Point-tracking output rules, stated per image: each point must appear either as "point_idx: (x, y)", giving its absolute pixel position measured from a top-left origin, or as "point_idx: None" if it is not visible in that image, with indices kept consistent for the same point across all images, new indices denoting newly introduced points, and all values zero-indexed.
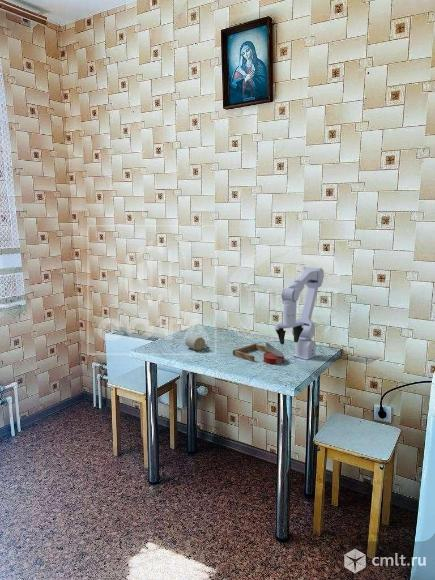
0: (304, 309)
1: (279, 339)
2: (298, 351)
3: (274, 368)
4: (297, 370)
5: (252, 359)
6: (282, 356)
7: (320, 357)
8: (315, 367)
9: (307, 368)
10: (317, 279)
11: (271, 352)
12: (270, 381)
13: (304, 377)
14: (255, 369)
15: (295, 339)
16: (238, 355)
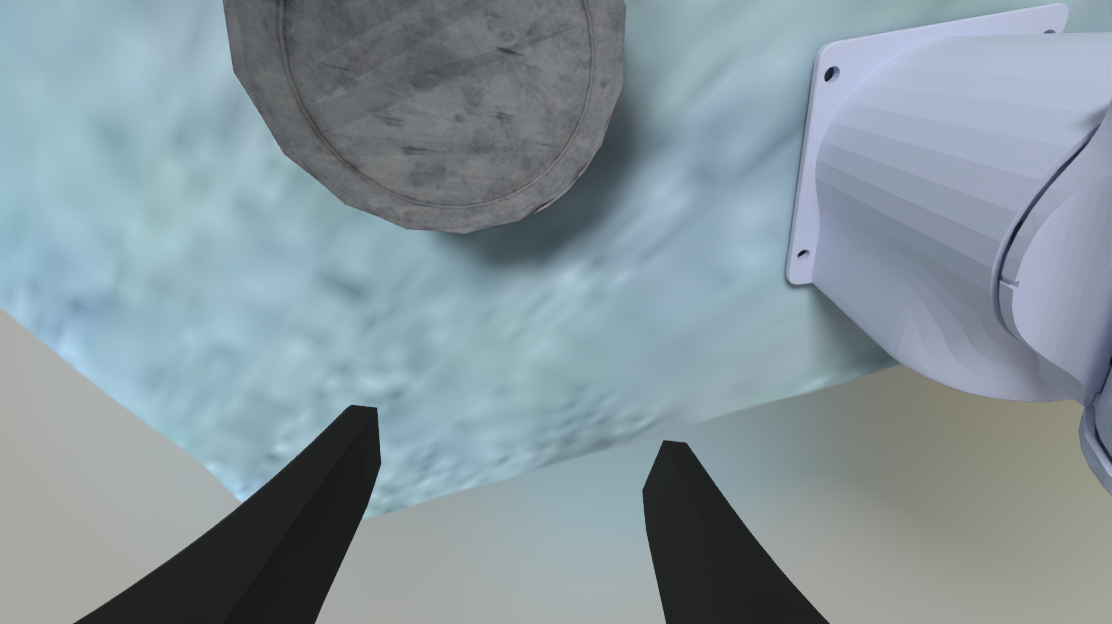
0: None
1: (293, 466)
2: (851, 182)
3: (351, 268)
4: (507, 395)
5: None
6: (517, 215)
7: None
8: (671, 420)
9: (605, 405)
10: None
11: (323, 183)
12: (198, 431)
13: (460, 485)
14: (137, 182)
15: (661, 511)
16: None
